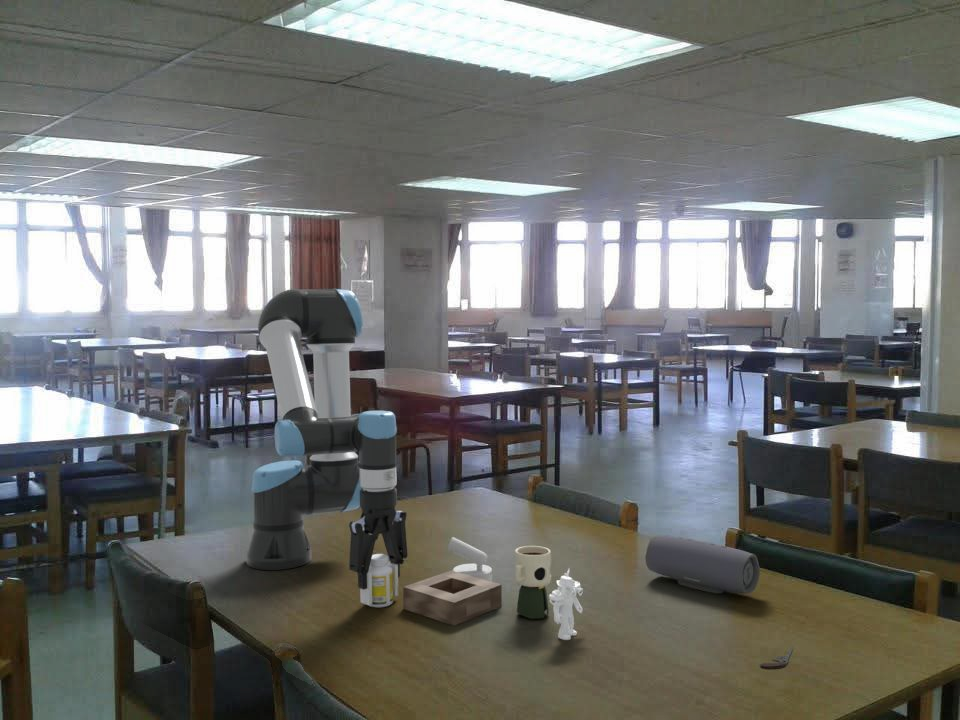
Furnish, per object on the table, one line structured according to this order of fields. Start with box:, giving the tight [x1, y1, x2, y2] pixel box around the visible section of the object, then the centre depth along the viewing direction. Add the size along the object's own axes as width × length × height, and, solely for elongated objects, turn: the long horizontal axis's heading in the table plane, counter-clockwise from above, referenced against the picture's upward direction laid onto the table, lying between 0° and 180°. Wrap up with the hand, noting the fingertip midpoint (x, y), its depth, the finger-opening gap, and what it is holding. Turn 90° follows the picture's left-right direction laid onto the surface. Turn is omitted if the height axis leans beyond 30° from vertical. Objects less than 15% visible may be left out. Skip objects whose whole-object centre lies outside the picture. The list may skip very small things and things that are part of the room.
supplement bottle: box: [368, 553, 394, 608], centre depth 177 cm, size 5×5×10 cm
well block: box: [402, 570, 503, 627], centre depth 174 cm, size 14×14×4 cm
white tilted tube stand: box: [446, 536, 493, 582], centre depth 191 cm, size 9×10×10 cm
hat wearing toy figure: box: [548, 567, 584, 641], centre depth 159 cm, size 9×4×12 cm, turn 143°
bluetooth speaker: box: [645, 534, 761, 595], centre depth 186 cm, size 23×9×10 cm, turn 47°
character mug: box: [514, 545, 552, 619], centre depth 169 cm, size 11×7×13 cm, turn 142°
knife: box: [759, 646, 794, 670], centre depth 151 cm, size 14×4×1 cm, turn 151°
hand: (379, 598), depth 177 cm, fingers open, 6 cm apart
